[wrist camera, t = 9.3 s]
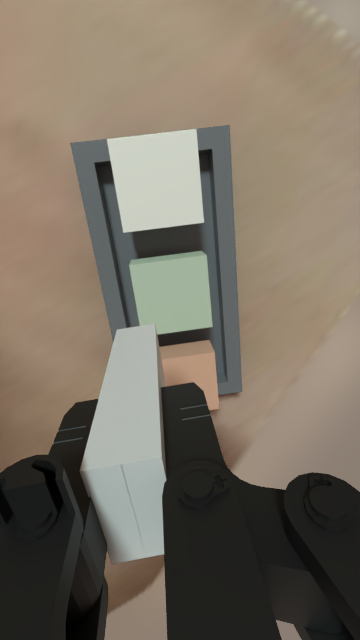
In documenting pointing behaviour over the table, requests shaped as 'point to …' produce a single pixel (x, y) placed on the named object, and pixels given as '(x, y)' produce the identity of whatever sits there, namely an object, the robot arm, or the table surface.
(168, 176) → the ivory key
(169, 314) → the sage key
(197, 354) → the terracotta key
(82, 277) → the table surface
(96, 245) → the grey rectangular tray
